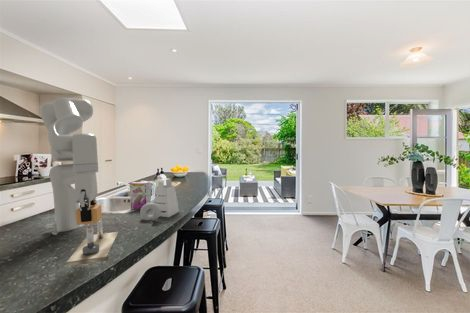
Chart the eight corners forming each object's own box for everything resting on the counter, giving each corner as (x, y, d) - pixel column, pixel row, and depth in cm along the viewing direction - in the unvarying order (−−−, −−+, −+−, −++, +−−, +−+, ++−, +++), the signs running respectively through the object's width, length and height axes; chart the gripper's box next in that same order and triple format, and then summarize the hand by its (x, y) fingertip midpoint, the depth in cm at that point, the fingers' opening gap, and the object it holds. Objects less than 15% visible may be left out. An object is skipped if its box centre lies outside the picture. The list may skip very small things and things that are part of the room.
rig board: (66, 266, 82) (66, 262, 82) (88, 238, 106) (88, 235, 106) (106, 260, 85) (106, 256, 85) (118, 235, 109) (118, 231, 109)
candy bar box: (130, 209, 152) (129, 183, 151) (135, 207, 157) (134, 181, 156) (146, 209, 150) (145, 183, 149) (151, 207, 155) (150, 182, 154)
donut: (140, 223, 124) (139, 204, 123) (140, 221, 127) (139, 202, 126) (160, 221, 126) (159, 202, 126) (160, 219, 130) (160, 201, 129)
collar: (76, 225, 84) (75, 210, 84) (82, 219, 90) (81, 206, 90) (97, 222, 86) (96, 208, 85) (101, 217, 92) (100, 204, 91)
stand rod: (97, 239, 101) (95, 217, 100) (98, 237, 103) (97, 216, 102) (102, 238, 101) (101, 217, 101) (103, 236, 103) (102, 215, 103)
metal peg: (80, 256, 85) (79, 229, 85) (85, 250, 90) (83, 224, 90) (97, 254, 87) (95, 227, 86) (100, 248, 92) (99, 223, 91)
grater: (152, 215, 137) (151, 180, 136) (164, 210, 147) (162, 177, 146) (168, 217, 134) (167, 180, 133) (179, 211, 144) (177, 178, 142)
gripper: (81, 167, 94) (84, 213, 95) (64, 171, 77) (68, 227, 78) (103, 166, 96) (106, 211, 97) (91, 170, 80) (94, 224, 80)
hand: (89, 218), depth 88 cm, fingers closed on collar, 6 cm apart
